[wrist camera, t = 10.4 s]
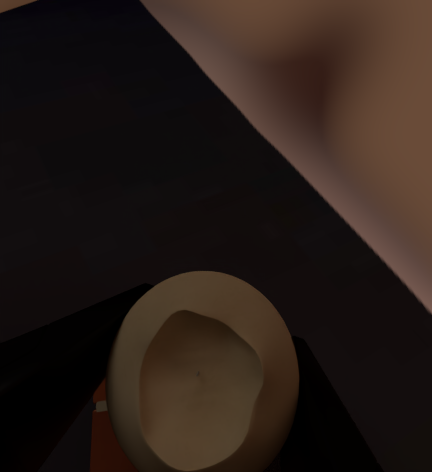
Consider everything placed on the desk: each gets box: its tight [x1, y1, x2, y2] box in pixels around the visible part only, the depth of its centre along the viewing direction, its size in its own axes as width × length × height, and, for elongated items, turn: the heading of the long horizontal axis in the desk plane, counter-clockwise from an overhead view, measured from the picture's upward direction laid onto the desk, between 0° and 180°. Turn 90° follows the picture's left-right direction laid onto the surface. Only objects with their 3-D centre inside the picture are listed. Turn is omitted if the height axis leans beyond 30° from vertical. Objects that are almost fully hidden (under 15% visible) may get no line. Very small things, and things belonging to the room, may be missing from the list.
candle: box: [105, 271, 299, 472], centre depth 9 cm, size 6×6×10 cm
